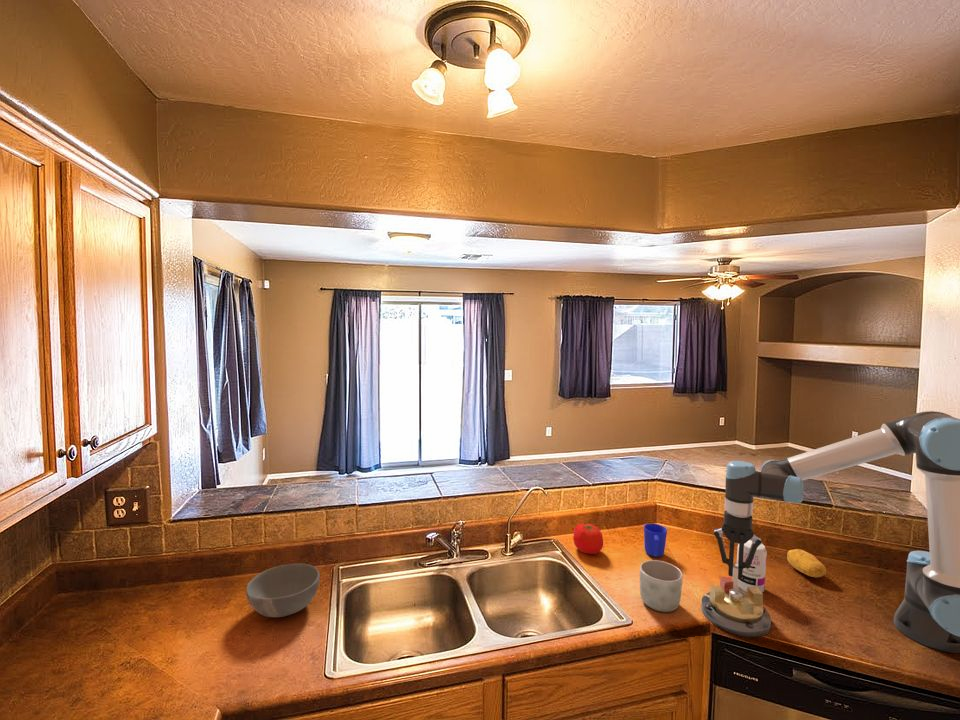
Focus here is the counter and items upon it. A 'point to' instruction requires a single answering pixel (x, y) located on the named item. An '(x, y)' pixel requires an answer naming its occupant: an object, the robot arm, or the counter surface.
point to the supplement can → (753, 568)
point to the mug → (654, 539)
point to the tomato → (588, 538)
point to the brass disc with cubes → (744, 608)
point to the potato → (806, 563)
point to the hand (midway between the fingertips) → (734, 586)
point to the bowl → (283, 589)
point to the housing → (734, 626)
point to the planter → (660, 585)
